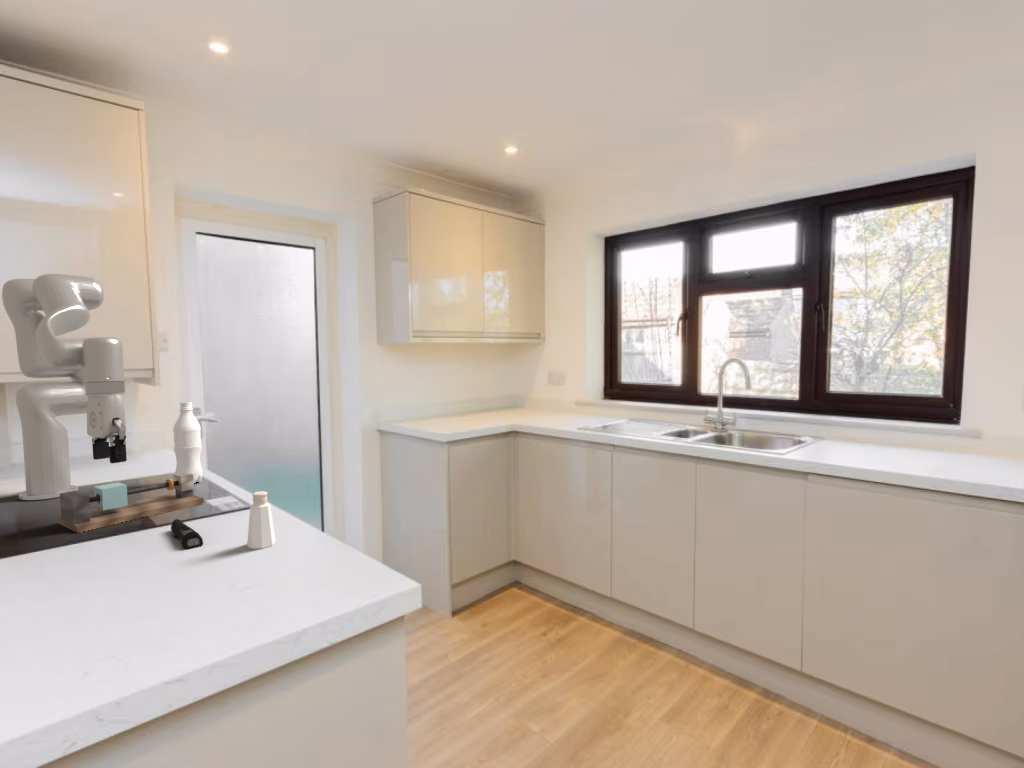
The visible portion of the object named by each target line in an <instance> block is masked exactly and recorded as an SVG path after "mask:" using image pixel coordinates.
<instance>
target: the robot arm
mask: <svg viewBox="0 0 1024 768" xmlns="http://www.w3.org/2000/svg"><path fill="white" fill-rule="evenodd" d="M104 299H105V293H104V289H103V287H102V285H101V284H100V282H99V281H98V280H96V279H95V278H94V277H93V278H92V277H91V276H90V277H89V276H83V275H81V276H80V275H72V274H61V273H46V274H45V273H44V274H42V275H39V276H37V277H36V278H14V279H9V280H7V281H6V282H5V283H4V284H3V285H2V289H1V300H2V305H3V307H4V310H5V312H6V314H7V316H8V318H9V320H10V322H11V324H12V326H13V330H14V334H15V341H16V351H17V359H18V360H17V361H18V365H19V370H20V372H21V373H22V375H23V376H25V377H27V378H31V379H32V378H33V379H51V378H69V379H71V381H63V382H62V381H60V382H59V381H52V382H51V381H50V382H37V383H35V382H34V383H29V384H26V385H24V386H21V387H19V388H18V389H17V391H16V393H15V403H16V407H17V411H18V415H19V418H20V419H19V420H20V425H21V434H22V446H23V447H22V448H23V449H22V450H23V463H24V477H25V480H24V481H25V482H24V483H25V490H24V491H22V492H20V493H19V494H18V499H19V500H21V501H39V500H42V501H43V500H49V499H50V500H51V499H54V498H60V493H64V492H70V491H79V487H78V485H74V484H73V485H72V484H71V481H72V480H71V468H70V467H71V466H70V450H69V434H68V430H67V428H66V426H65V425H64V424H62V423H61V422H60V421H59V420H58V419H57V418H56V417H60V416H68V415H69V416H71V415H83V414H86V433H87V435H88V436H89V437H92V438H91V444H92V445H91V446H92V459H93V460H102V459H109V463H110V464H118V463H124V462H127V460H128V457H127V440H126V438H127V435H126V432H127V426H126V425H127V423H126V412H125V411H126V410H125V406H124V405H125V404H124V399H123V398H124V397H123V396H124V395H126V385H125V368H124V367H125V366H124V351H123V349H124V348H123V342H122V340H121V339H119V338H116V337H108V336H106V337H105V336H98V337H97V336H95V337H82V336H81V337H79V336H77V337H75V336H74V337H72V336H68V337H67V336H61V335H65V334H69V333H72V332H74V331H77V330H80V329H82V328H83V327H84V326H86V324H88V323H89V321H90V318H91V313H90V311H92V310H95V309H98V308H100V307H101V305H102V304H103V302H104ZM39 311H40V312H39ZM42 312H43V313H44V314H45V315H44V314H42Z"/></svg>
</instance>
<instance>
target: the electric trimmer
mask: <svg viewBox="0 0 1024 768" xmlns="http://www.w3.org/2000/svg"><path fill="white" fill-rule="evenodd" d="M170 530H171V534H172V535H173V538H174V539H176V540H180V541H181V546H182V548H183V550H187V551H188V550H192V549H196V548H200V547H203V545H204V541H203V537H202V536H201V535H200V534H199V532H197V531H195V530H194V529H193V528H192V527H190V526H188V524H187V525H186V523H184V522H183V521H182V520H181V519H178V518H175V519H174V520H173V521H172V523H171V526H170Z"/></svg>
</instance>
